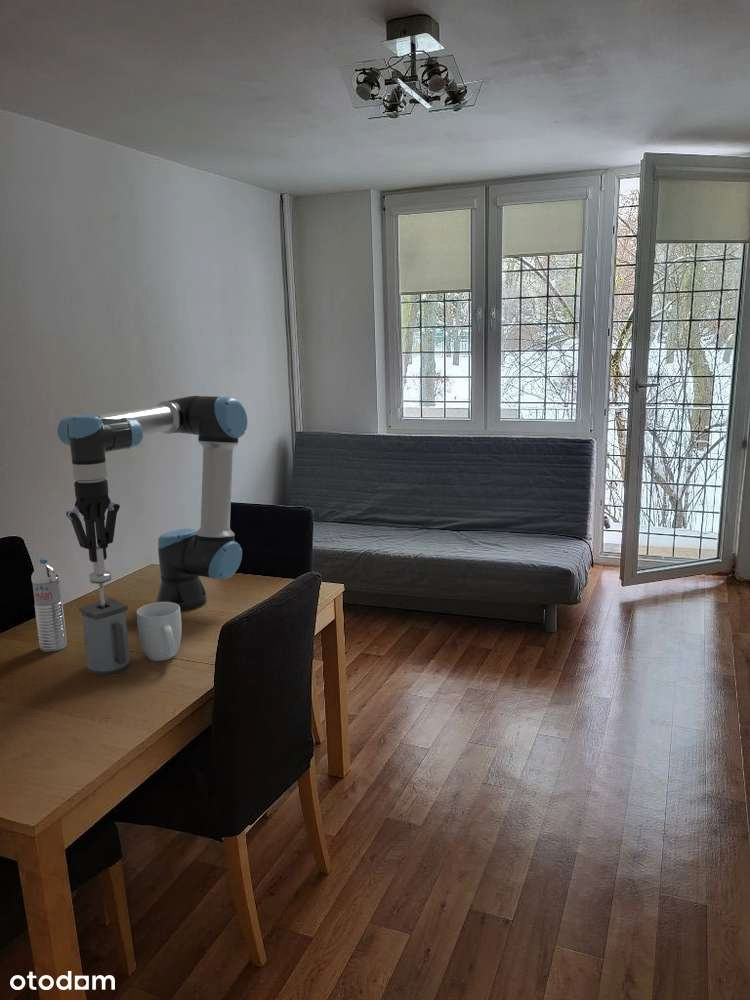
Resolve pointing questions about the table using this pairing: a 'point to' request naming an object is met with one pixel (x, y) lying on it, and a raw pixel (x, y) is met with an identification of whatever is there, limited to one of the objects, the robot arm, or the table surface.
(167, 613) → the mug
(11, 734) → the table surface
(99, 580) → the plunger
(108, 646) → the carafe
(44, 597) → the water bottle
